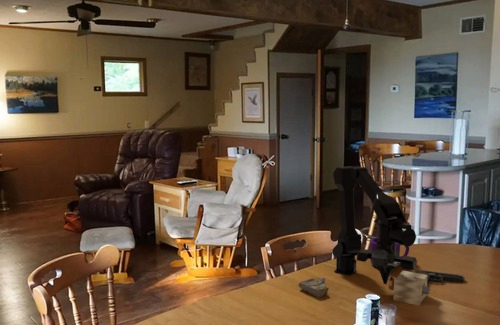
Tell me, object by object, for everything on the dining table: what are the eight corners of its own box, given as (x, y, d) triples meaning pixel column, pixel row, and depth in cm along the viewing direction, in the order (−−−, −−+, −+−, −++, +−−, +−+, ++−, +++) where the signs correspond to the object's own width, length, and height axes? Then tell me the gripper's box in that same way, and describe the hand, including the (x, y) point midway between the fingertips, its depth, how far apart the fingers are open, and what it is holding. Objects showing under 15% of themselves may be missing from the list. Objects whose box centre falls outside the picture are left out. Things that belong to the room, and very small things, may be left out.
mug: (381, 272, 181) (381, 246, 180) (363, 262, 192) (364, 238, 190) (418, 266, 187) (419, 241, 186) (399, 257, 198) (400, 233, 197)
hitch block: (393, 300, 155) (394, 279, 154) (402, 289, 164) (402, 270, 163) (419, 305, 151) (420, 284, 150) (426, 294, 159) (427, 275, 159)
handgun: (469, 288, 162) (464, 273, 173) (412, 280, 166) (410, 267, 178) (468, 296, 162) (463, 281, 174) (411, 288, 167) (410, 274, 178)
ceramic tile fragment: (332, 288, 157) (302, 289, 156) (332, 298, 157) (302, 299, 157) (324, 276, 169) (296, 276, 168) (324, 285, 169) (296, 285, 169)
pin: (388, 291, 159) (388, 278, 158) (392, 287, 162) (392, 274, 162) (427, 299, 152) (427, 286, 152) (430, 295, 156) (430, 281, 155)
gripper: (351, 240, 158) (349, 285, 160) (409, 249, 148) (407, 297, 150) (362, 232, 167) (361, 275, 169) (418, 240, 157) (416, 286, 159)
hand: (385, 283), depth 161 cm, fingers closed
